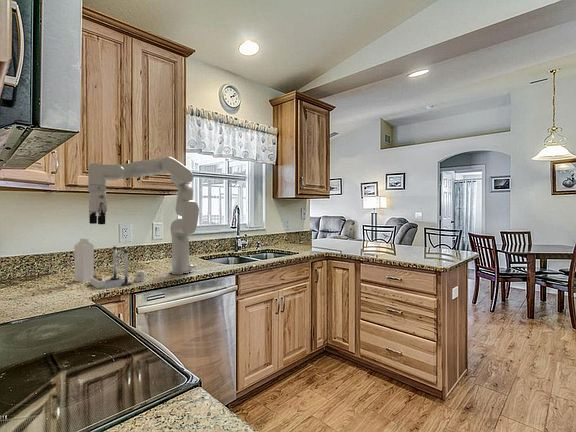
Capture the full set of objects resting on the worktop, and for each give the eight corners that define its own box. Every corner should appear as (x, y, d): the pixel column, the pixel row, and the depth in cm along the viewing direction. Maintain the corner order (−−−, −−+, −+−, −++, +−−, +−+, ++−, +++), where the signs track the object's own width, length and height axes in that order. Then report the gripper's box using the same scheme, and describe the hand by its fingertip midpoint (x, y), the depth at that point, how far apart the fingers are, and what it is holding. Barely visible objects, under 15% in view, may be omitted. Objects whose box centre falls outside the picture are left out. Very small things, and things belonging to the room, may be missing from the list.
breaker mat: (120, 279, 171) (120, 270, 171) (134, 286, 156) (134, 276, 156) (87, 284, 161) (87, 274, 161) (99, 292, 146) (99, 281, 145)
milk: (85, 280, 169) (85, 238, 169) (94, 281, 167) (94, 238, 166) (74, 283, 163) (74, 239, 163) (82, 284, 161) (82, 239, 161)
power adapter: (137, 279, 173) (137, 268, 173) (147, 278, 174) (147, 267, 174) (134, 283, 162) (134, 272, 162) (144, 283, 164) (144, 271, 164)
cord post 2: (129, 283, 158) (129, 248, 158) (132, 285, 155) (131, 249, 155) (120, 284, 155) (120, 249, 155) (123, 286, 152) (122, 250, 152)
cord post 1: (118, 278, 170) (117, 245, 170) (120, 279, 168) (120, 246, 167) (109, 279, 168) (109, 246, 167) (111, 280, 165) (111, 246, 164)
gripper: (113, 188, 157) (113, 224, 158) (98, 190, 168) (98, 223, 168) (96, 188, 151) (96, 224, 152) (81, 189, 162) (81, 223, 162)
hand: (97, 223), depth 160 cm, fingers open, 9 cm apart
